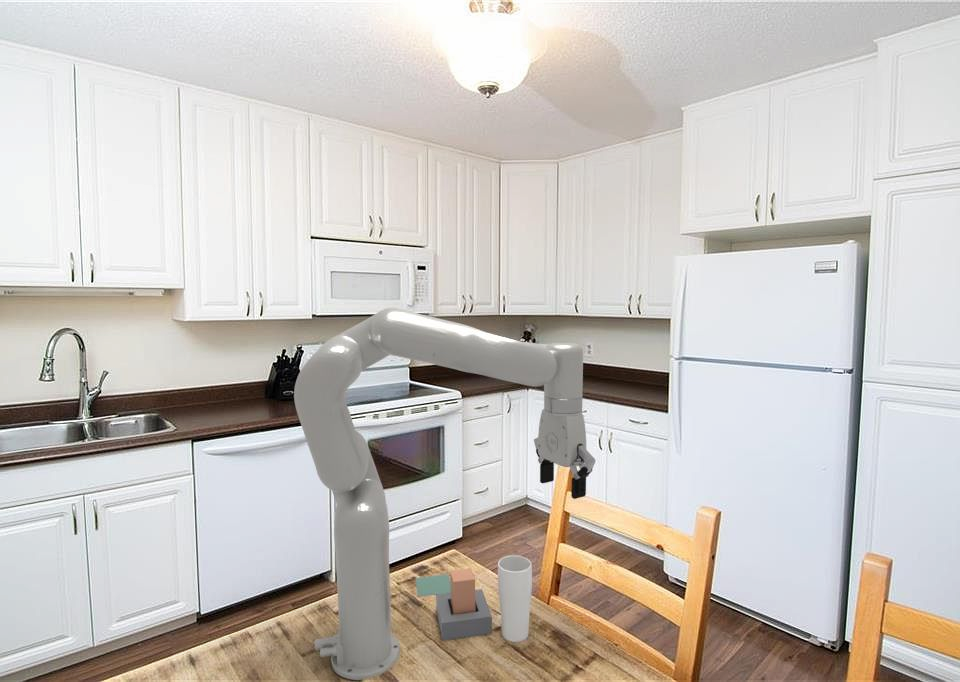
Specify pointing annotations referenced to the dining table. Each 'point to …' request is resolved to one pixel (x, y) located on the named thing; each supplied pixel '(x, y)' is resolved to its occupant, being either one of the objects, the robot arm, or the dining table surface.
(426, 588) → the mat
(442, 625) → the pocket block
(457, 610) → the peg
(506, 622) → the drinking glass
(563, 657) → the dining table surface
